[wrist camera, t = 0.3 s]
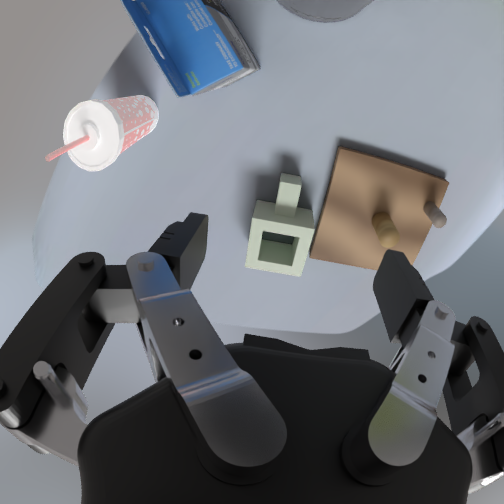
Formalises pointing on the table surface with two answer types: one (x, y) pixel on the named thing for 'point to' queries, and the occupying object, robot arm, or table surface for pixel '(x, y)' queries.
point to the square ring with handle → (281, 231)
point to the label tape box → (192, 43)
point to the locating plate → (376, 210)
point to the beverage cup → (105, 129)
